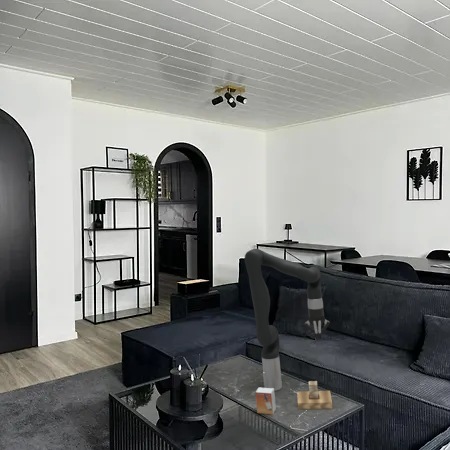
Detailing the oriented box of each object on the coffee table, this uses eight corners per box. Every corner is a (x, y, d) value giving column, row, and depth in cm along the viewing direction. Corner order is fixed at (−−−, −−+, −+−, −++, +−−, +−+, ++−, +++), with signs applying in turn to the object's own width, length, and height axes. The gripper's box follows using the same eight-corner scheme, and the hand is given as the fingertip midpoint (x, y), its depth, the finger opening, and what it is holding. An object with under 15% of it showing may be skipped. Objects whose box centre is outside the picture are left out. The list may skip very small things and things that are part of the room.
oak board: (298, 409, 206) (297, 403, 205) (298, 397, 217) (297, 391, 217) (332, 408, 203) (331, 402, 203) (330, 396, 215) (329, 390, 214)
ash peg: (310, 405, 208) (308, 385, 208) (310, 400, 212) (308, 381, 212) (319, 404, 208) (317, 384, 207) (318, 400, 212) (316, 381, 211)
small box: (257, 413, 206) (254, 392, 205) (260, 407, 211) (258, 386, 210) (273, 414, 203) (271, 393, 202) (276, 408, 208) (274, 387, 208)
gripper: (328, 303, 221) (331, 336, 222) (302, 305, 223) (305, 338, 224) (329, 307, 213) (332, 341, 214) (302, 309, 216) (305, 343, 217)
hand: (318, 339), depth 219 cm, fingers closed
